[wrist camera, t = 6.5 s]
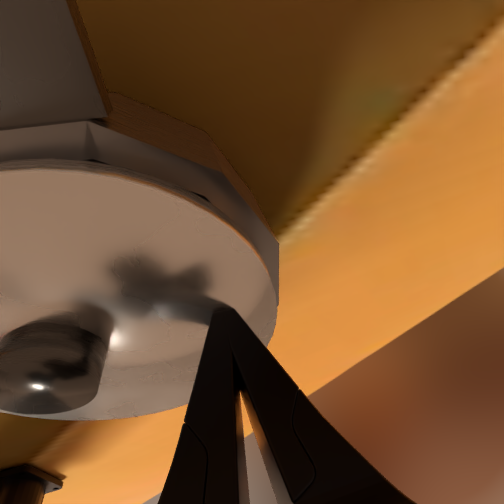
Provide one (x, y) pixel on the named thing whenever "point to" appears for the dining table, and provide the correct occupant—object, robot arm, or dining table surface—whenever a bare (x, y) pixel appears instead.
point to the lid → (113, 289)
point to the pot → (105, 118)
